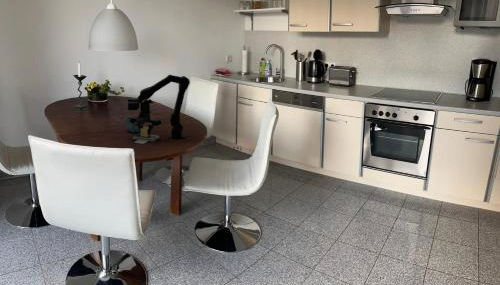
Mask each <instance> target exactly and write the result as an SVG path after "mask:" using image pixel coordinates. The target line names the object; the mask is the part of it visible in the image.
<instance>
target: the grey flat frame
mask: <svg viewBox="0 0 500 285" xmlns="http://www.w3.org/2000/svg"><path fill="white" fill-rule="evenodd" d="M131 138H132V139H133V140H136V141H137V140H139V139H142V140H149V141H148V142H155V141H157V140H158V139H159V138H160V135H157V134H151V137H149V138H145V137H141V132H137V133H136V134H135V135H133V136H132V137H131Z"/></svg>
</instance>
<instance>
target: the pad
mask: <svg viewBox="0 0 500 285" xmlns="http://www.w3.org/2000/svg"><path fill="white" fill-rule="evenodd" d="M148 142H150V141H149V140H142V139H139V140H137V139H136V141H134V143H136V144H141V145H142V144H143V145H144V144H147V143H148Z"/></svg>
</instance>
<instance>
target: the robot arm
mask: <svg viewBox="0 0 500 285" xmlns="http://www.w3.org/2000/svg"><path fill="white" fill-rule="evenodd" d="M190 82H191V81H190V79H189V78H188V77H187V76H185V75H183V76H178V75H173V74H168V75H167V76H166V77H164V78H162V79H161V80H159V81H158V82H156V83H154V84H153V85H151V86H147V87H145V88H143V89H141V90H140V91H139V95H138V96H137V98H136V99H132V98H127V111H138V110H139V109H140V110H139V111H140V112H139V114H138V116H131V117H132V118H130V123H135V125H137V126H138V127H139V130H140V132H139V133H141V128H142V127H144V125H145V124H148V125H147V127H149V135H150V134H151V135H152V131H153V130H154V128H155V127H158V126H160V125H161V124H162V120H161V119H159V118H155V119H152V117H151V113H152V111H151V104H153V103H154V101H153V100H152V99H151V98H152V96H154V94H155V93H156V92H158V91H159V90H161V89H163V88H164V87H166V86H167V85H169V84H170V83H175V84H178V91H177V95H176V99H175V103H174V108H173V111H172V113H171V112H170V113H169V117H168V121H169V124H170V126H171V127H172V128H171V131H170V132H171V133H170V134H171V135H170V136H171V137H170V138H171V139H175V140H176V139H179V140H181V139H182V138H184V137H185V136H184V125H183V124H182V123H181V118H180V117H181V110H182V106H183V103H184V102H183V101H184V98H185V94H186V91H187V90H188V88H189V85H190Z"/></svg>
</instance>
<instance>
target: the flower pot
mask: <svg viewBox="0 0 500 285" xmlns="http://www.w3.org/2000/svg"><path fill="white" fill-rule="evenodd" d="M132 117H133V116H130V117H125V118H124V120H125V125H126V126H125V127H126V128H127V130H128V131H129V132H130V133H141V132H140V130H139V127H138V126H137V125H135V123H130V118H132Z"/></svg>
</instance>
